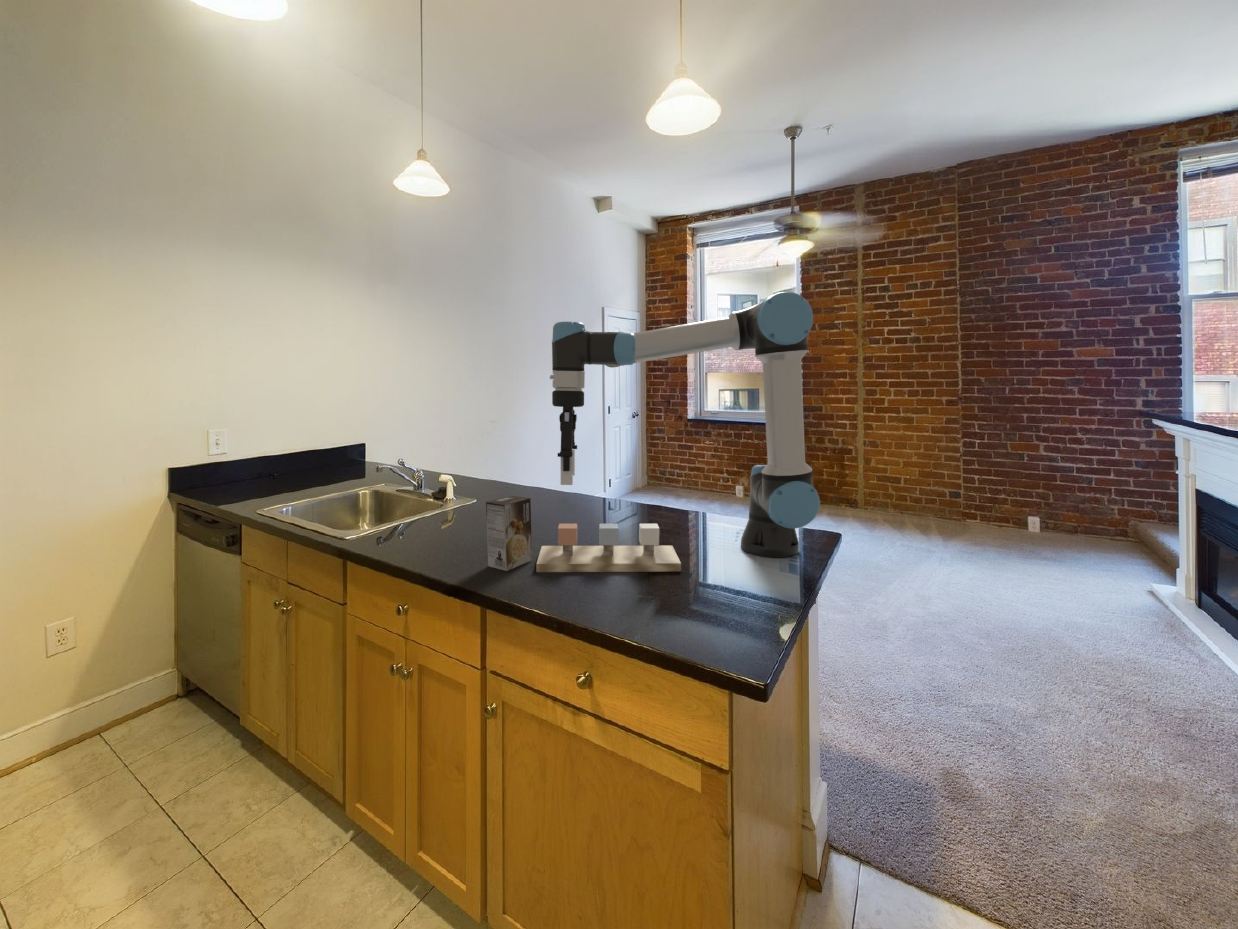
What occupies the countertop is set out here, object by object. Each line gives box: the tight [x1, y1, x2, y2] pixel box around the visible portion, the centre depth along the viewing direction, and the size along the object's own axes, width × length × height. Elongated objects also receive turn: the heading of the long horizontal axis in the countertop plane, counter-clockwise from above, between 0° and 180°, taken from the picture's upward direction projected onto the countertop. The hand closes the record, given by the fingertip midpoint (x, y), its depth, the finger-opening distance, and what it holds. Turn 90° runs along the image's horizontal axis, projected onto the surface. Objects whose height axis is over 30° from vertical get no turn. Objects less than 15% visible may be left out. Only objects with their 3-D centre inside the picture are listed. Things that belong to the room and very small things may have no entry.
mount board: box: [535, 545, 682, 573], centre depth 132 cm, size 34×14×5 cm, turn 93°
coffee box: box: [485, 495, 533, 572], centre depth 129 cm, size 9×6×16 cm
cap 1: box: [557, 523, 578, 546], centre depth 131 cm, size 4×4×4 cm
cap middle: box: [598, 523, 619, 546], centre depth 131 cm, size 4×4×4 cm
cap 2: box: [638, 523, 660, 546], centre depth 132 cm, size 4×4×4 cm
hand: (567, 479), depth 129 cm, fingers open, 12 cm apart
